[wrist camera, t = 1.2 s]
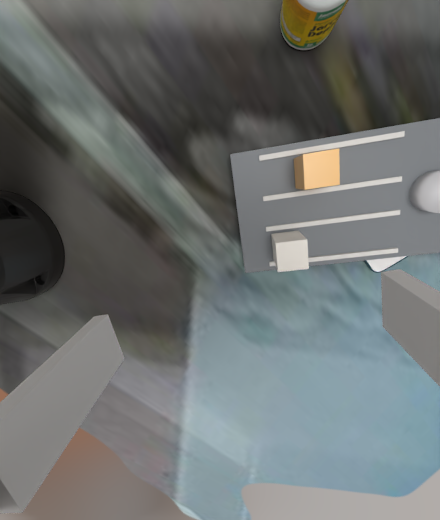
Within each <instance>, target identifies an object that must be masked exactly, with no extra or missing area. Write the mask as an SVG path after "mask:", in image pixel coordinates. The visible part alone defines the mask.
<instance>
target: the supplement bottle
mask: <svg viewBox="0 0 440 520" xmlns="http://www.w3.org/2000/svg"><path fill="white" fill-rule="evenodd" d="M347 2H348V0H283V4H282V9H281V15H280V28H281V32H282V35H283V37H284V39H285V41H286V42H287V43H288V44H289V45H290V46H291V47H293V48H295V49H298V50H309V49H313V48H315V47H317V46H318V45H320V44H321V43H322V42H323V41H324V40H325V39H326V38H327V37H328V35H329V34H330V32H331V31H332V29H333V27H334V25H335V23H336V22H337V20H338V18H339V16H340V15H341V13H342V11H343V9H344V7H345V6H346V4H347Z"/></svg>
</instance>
